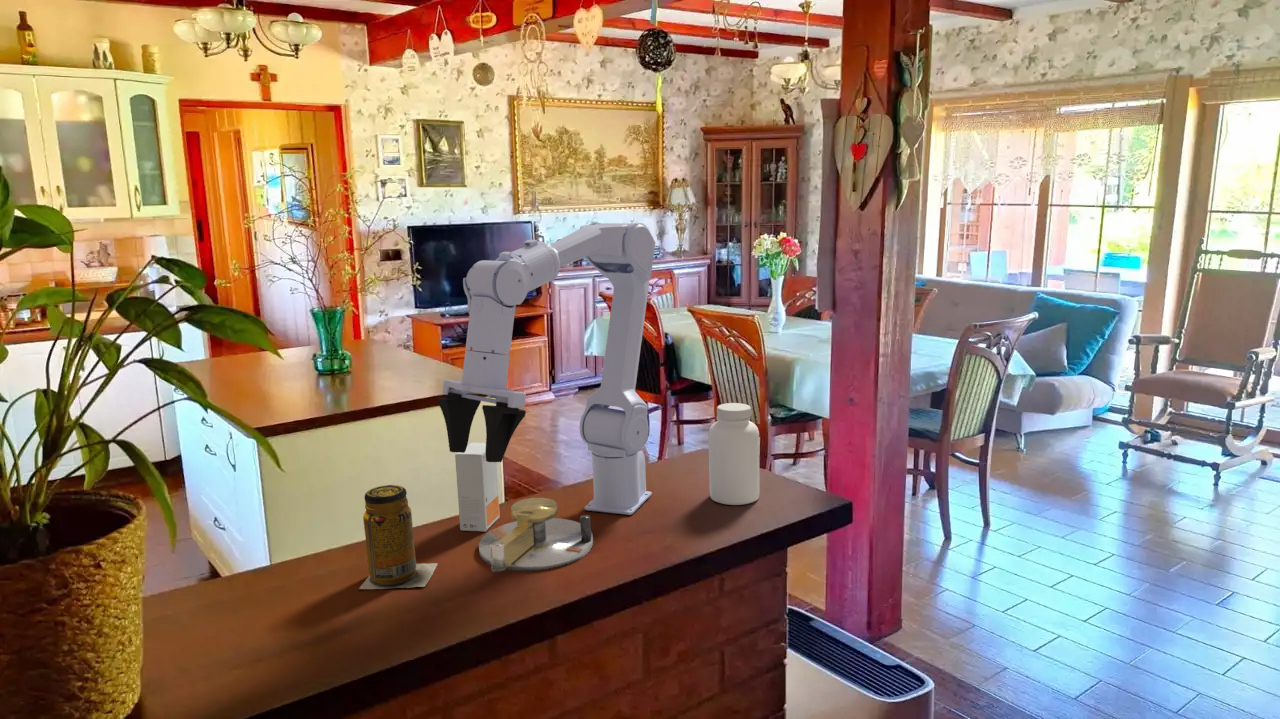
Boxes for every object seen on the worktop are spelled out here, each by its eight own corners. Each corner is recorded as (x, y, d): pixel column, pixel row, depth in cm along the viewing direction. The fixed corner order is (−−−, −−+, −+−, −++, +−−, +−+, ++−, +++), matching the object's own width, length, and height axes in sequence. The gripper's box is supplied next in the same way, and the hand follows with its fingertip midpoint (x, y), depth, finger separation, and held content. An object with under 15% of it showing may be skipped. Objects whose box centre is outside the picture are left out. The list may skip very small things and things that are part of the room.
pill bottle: (761, 490, 142) (761, 400, 139) (756, 508, 135) (756, 414, 132) (713, 487, 144) (711, 399, 141) (706, 505, 136) (704, 412, 133)
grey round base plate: (513, 519, 133) (512, 491, 132) (610, 530, 128) (609, 501, 127) (457, 562, 119) (454, 531, 118) (563, 577, 113) (561, 544, 112)
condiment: (376, 566, 119) (367, 482, 116) (438, 564, 119) (431, 480, 116) (358, 590, 112) (349, 502, 109) (424, 589, 111) (416, 500, 109)
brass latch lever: (526, 526, 127) (524, 495, 126) (566, 531, 125) (564, 500, 124) (473, 568, 114) (470, 534, 113) (517, 574, 111) (514, 540, 110)
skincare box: (486, 532, 129) (481, 454, 126) (459, 531, 130) (453, 454, 127) (501, 517, 135) (496, 442, 132) (475, 515, 135) (469, 441, 133)
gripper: (428, 345, 115) (416, 447, 115) (499, 355, 105) (486, 466, 105) (471, 349, 120) (460, 447, 120) (542, 359, 111) (530, 465, 111)
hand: (475, 456), depth 113 cm, fingers open, 7 cm apart
